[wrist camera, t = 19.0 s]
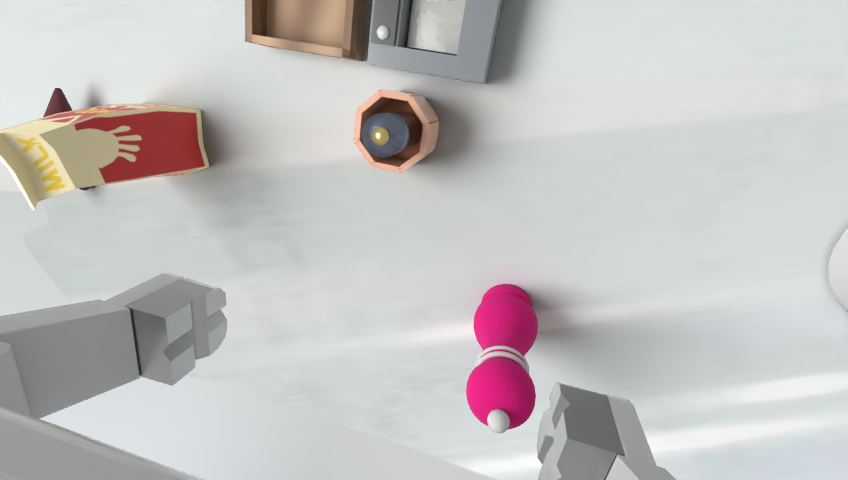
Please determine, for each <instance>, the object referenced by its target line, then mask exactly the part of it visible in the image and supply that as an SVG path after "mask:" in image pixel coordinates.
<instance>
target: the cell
mask: <svg viewBox="0 0 848 480" xmlns="http://www.w3.org/2000/svg"><path fill="white" fill-rule="evenodd" d="M421 136H422V125H421V122H420V120H419V119H418V117H417V116H416V115H414V114H413V113H411V112H407V111H401V112H391V113H381V114H375V115H373V116H371V117H370V118H369V119H368V120H367V121H366V122H365V124H364V126H363V130H362V139H363V142H364V145H365V147H366V148H367V150H368V151H369V152H370V153H372V154H373V155H375V156H378V157H389V156H392V155H394V154H396V153H399V152H401V151H403V150H406V149H408V148H410V147H412V146H414V145H416V144H417V143H418V142H419V140H420V138H421Z"/></svg>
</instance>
